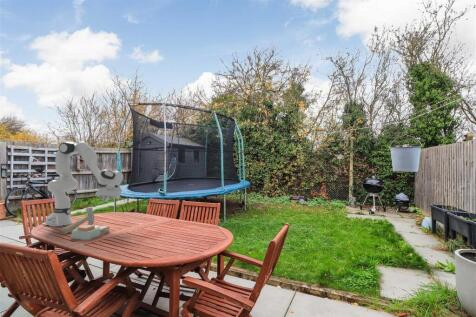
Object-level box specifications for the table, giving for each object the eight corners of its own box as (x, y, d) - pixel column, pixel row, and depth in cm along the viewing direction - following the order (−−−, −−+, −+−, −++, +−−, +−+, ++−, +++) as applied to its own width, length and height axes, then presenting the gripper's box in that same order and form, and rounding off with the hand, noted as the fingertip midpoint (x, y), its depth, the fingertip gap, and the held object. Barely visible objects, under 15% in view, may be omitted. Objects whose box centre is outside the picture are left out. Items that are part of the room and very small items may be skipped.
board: (83, 234, 220) (83, 229, 220) (93, 230, 232) (93, 225, 232) (99, 235, 218) (99, 230, 218) (109, 231, 230) (109, 226, 230)
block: (86, 233, 218) (77, 237, 210) (86, 224, 218) (77, 227, 210) (94, 234, 217) (86, 237, 208) (94, 225, 217) (86, 228, 208)
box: (71, 238, 209) (71, 230, 209) (83, 234, 220) (83, 226, 220) (89, 240, 206) (89, 231, 206) (99, 235, 218) (100, 227, 218)
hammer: (65, 222, 217) (93, 206, 246) (60, 221, 219) (88, 206, 247) (68, 241, 221) (95, 223, 249) (63, 240, 222) (91, 223, 251)
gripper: (98, 184, 243) (90, 198, 233) (121, 186, 240) (113, 199, 230) (102, 189, 247) (94, 202, 238) (124, 191, 244) (116, 204, 234)
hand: (104, 201), depth 234 cm, fingers closed
